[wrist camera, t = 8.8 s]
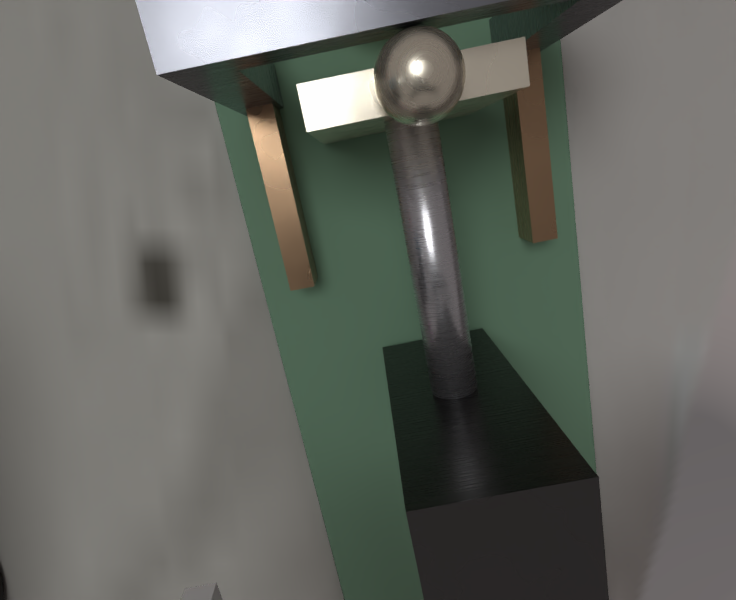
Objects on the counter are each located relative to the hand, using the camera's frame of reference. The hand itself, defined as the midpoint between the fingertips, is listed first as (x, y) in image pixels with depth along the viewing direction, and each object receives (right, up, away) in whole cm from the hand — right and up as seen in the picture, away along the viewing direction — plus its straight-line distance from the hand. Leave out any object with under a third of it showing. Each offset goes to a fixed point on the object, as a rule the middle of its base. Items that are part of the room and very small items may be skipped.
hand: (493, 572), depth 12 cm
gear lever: (-1, +8, +10) cm, 12 cm away
